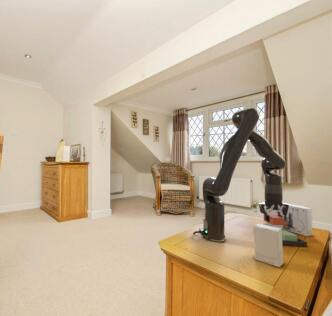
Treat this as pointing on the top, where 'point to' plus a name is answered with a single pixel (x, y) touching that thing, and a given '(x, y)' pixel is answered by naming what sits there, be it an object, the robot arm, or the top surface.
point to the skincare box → (296, 220)
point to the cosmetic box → (268, 244)
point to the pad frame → (295, 243)
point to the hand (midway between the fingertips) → (273, 221)
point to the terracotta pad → (275, 219)
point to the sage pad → (288, 236)
